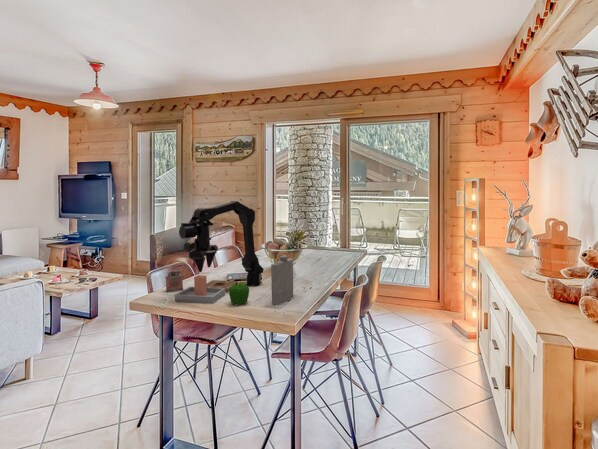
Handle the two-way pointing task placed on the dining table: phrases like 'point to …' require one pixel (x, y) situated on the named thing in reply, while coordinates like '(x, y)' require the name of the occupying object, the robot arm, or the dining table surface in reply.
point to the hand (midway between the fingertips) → (204, 269)
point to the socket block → (221, 284)
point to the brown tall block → (200, 285)
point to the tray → (190, 296)
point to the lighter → (174, 281)
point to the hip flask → (282, 280)
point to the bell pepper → (239, 293)
